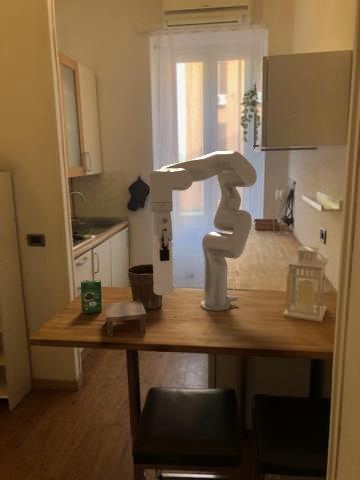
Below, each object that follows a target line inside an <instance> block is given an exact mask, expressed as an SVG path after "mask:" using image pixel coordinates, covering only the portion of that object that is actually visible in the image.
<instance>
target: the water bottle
mask: <svg viewBox="0 0 360 480" xmlns="http://www.w3.org/2000/svg"><path fill="white" fill-rule="evenodd" d="M162 234H163V233H162ZM161 240H164V239H161ZM168 242H169V261H160V241H158V240H157V237H156V235H155V236H154V239H153V240H152V242H151V243H152V244H151V246H152V247H151V248H152V264H153V272H154V274H153V281H154V285H153V291H154V293H155V294H157V295H162V296H169V295H172V294H173V293H174V274H173V272H174V271H173V268H174V267H173V266H174V262H173V260H174V256H173V246H174V245H173V240H172V241H170V240H169V239H168ZM162 245H163V243H162Z"/></svg>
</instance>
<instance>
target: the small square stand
mask: <svg viewBox="0 0 360 480" xmlns="http://www.w3.org/2000/svg"><path fill="white" fill-rule="evenodd" d="M104 311H105V320H106V321H105V322H106V323H107V324H106V325H107V328H106V329H107V336H108V337H110V336H109V335H113V336H114V325H113V324H114V323H113V322H120V321H121V322H122V321H130V320H131V321H132V320H137V321H139V330H140V333H146V331H147V329H146V327H147V324H146V322H147V321H146V320H147V312H146V310H145V309H144V306H143V304H142V301H133V300H132V301H121V302H109V303H108V302H107V303H104Z"/></svg>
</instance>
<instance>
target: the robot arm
mask: <svg viewBox="0 0 360 480" xmlns="http://www.w3.org/2000/svg"><path fill="white" fill-rule="evenodd" d="M215 176H217V182H218V185H219V189H220V192H221V197H220V201H219V203H218V207H217V210H216V213H215V215H214V219H213V226H214V228H215V229H216V230H217V231H210V232H207V233H205V235H204V236H203V238H202V241H201V247H202V252H203V259H204V271H203V272H204V278H203V279H204V281H203V282H204V286H203V287H204V290H203V292H204V296H203V297H204V299H203V300H201V302H200V307H201V308H203V309H204V310H207V311H210V312H211V311H213V312H223V311H226V310H229V309H230V308H231V302H238V301H239V297H238V296H236V295H235V296H233V294H232V295H228V263H227V259H226V258H228V259H232V260H235V259H236V260H237V259H238V258H240V257H241V256H242V254H243V253H244V251H245V247H246V244H247V241H248V239H249V235H250V232H251V229H252V225H253V224H252V222H253V219H252V215H251V213H250V212H249V211H248V210H245V209H244V210H243V209H240V206H241V203H242V197H241V195H240V193H239V191H238V189H237V188H250V187H252V186H254V185H255V184H256V182H257V177H258V175H257V171H256V169H255V167H254V166H253V165H252V163H251V162H250V161H249V160H248V159H247V158H246V157H245V156H244V155H243V154H241V153H240V152H238V151H236V150H227V151H226V150H223V151H222V150H220V151H214V152H211V153H209V154H206V155H203V156H201V157H197V158H194V159H189V160H185V161H181V162H177V163H173V164H170V165H166V166H163V167H161V168H160V169H153V170H151V171H149V201H150V202H149V206H150V213H153V232H154V233H153V234H154V235H153V237H155V235H156V237H157V240H158V241H160V261H169V242H168V239H169V240H170V241H172V242H173V226H172V224H173V223H172V214H171V212H173V211H174V209H173V207H174V206H173V191H178V192H179V191H180V192H182V191H187V190H188V189H189V188H191V187H192V185H193V182H195V183H196V182H203V181H207V180H208V179H210V178H213V177H215ZM218 230H219V231H221V232H219V231H218ZM226 232H228V233H226ZM162 233H163V234H162ZM161 239H164V240H161ZM162 243H163V245H162Z"/></svg>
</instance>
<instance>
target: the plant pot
mask: <svg viewBox="0 0 360 480" xmlns="http://www.w3.org/2000/svg"><path fill="white" fill-rule="evenodd" d="M126 272H127V274H128V280H129V283H130V291H131V297H132V298H131V299H132V301H142V304H143V306H144V309H145V311H149V310H150V309H152V310H156V309H158V308H160V307H161V306H162V304H163V295H157V294H155V293H154V291H153V285H154V281H153V274H154V272H153V263H149V264H148V263H147V264H136V265H133V266H129V267H128V268H127V269H126Z"/></svg>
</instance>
